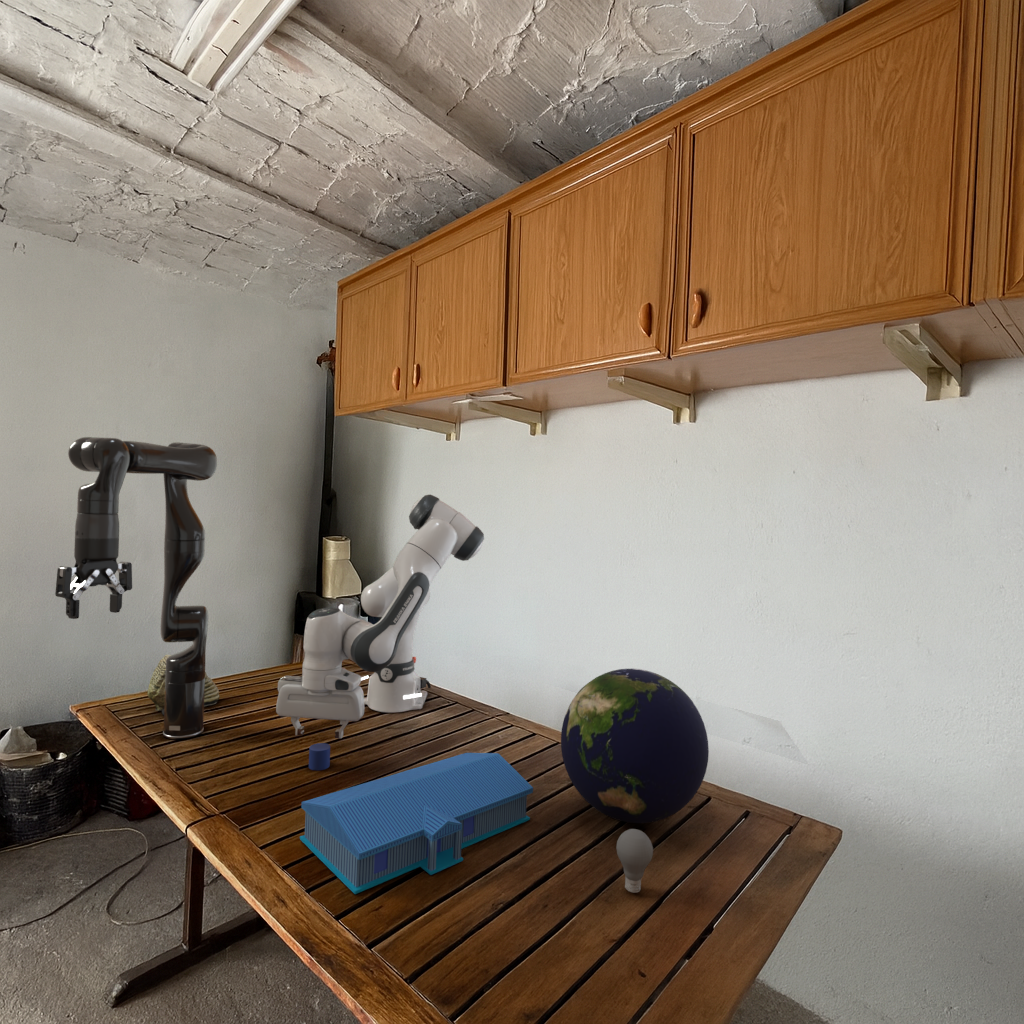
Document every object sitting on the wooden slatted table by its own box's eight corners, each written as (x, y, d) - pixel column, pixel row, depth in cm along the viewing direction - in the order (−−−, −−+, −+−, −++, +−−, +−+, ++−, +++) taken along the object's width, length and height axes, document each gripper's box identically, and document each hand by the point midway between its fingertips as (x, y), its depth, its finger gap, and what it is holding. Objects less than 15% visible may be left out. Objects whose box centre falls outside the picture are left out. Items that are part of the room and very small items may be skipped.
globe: (537, 831, 123) (544, 678, 123) (580, 772, 151) (585, 647, 150) (696, 871, 112) (704, 703, 111) (710, 800, 140) (717, 665, 139)
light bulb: (610, 879, 108) (613, 822, 108) (644, 879, 109) (647, 822, 109) (619, 902, 102) (622, 840, 102) (655, 901, 103) (658, 840, 103)
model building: (364, 904, 99) (367, 841, 99) (298, 838, 117) (300, 784, 117) (541, 825, 125) (544, 775, 125) (465, 781, 144) (467, 737, 143)
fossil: (144, 707, 182) (145, 655, 182) (212, 696, 194) (213, 647, 194) (151, 716, 175) (153, 662, 175) (221, 703, 188) (223, 653, 188)
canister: (309, 771, 146) (310, 751, 145) (307, 763, 150) (308, 744, 150) (330, 769, 147) (331, 749, 147) (328, 761, 152) (329, 742, 152)
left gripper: (74, 538, 121) (71, 623, 121) (142, 535, 134) (139, 612, 134) (48, 535, 123) (45, 618, 124) (117, 533, 137) (115, 608, 137)
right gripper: (272, 678, 146) (270, 738, 146) (360, 684, 145) (357, 744, 145) (283, 671, 152) (281, 728, 152) (367, 676, 151) (365, 734, 151)
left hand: (94, 615), depth 129 cm, fingers open, 8 cm apart
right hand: (319, 736), depth 149 cm, fingers open, 8 cm apart
